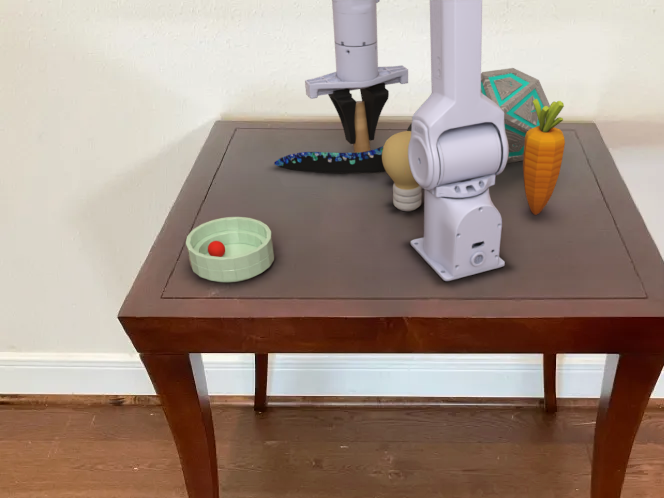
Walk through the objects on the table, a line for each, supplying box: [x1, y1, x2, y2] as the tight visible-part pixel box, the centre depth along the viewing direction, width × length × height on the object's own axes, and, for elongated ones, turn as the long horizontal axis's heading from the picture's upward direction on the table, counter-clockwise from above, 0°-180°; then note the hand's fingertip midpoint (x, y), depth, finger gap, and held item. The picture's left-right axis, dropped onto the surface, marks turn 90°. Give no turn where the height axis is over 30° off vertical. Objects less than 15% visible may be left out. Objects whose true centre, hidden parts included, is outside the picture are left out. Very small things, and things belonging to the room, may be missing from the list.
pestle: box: [352, 100, 372, 153], centre depth 105 cm, size 4×4×8 cm
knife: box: [273, 145, 387, 174], centre depth 102 cm, size 31×3×4 cm, turn 75°
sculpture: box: [481, 67, 551, 165], centre depth 105 cm, size 13×14×30 cm
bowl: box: [185, 216, 275, 283], centre depth 85 cm, size 10×10×4 cm
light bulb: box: [382, 130, 423, 212], centre depth 93 cm, size 6×6×10 cm
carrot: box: [522, 99, 566, 216], centre depth 90 cm, size 5×5×15 cm
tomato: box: [208, 241, 225, 257], centre depth 85 cm, size 2×2×2 cm
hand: (360, 139), depth 106 cm, fingers closed on pestle, 2 cm apart
